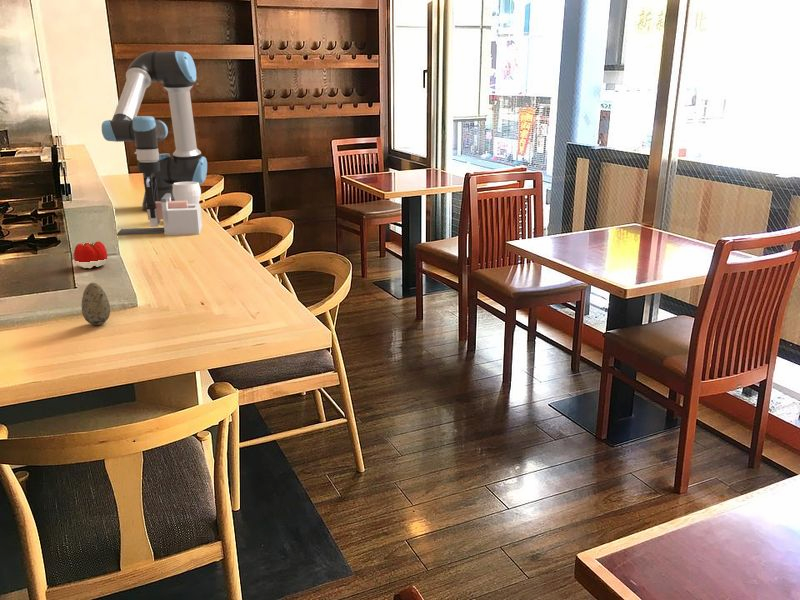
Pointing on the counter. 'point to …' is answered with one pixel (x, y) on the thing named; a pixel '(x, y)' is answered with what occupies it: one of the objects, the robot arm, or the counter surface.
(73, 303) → the counter surface
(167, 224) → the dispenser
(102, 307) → the decorative egg
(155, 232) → the pad
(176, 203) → the pink rectangular block
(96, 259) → the tomato
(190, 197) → the cup
